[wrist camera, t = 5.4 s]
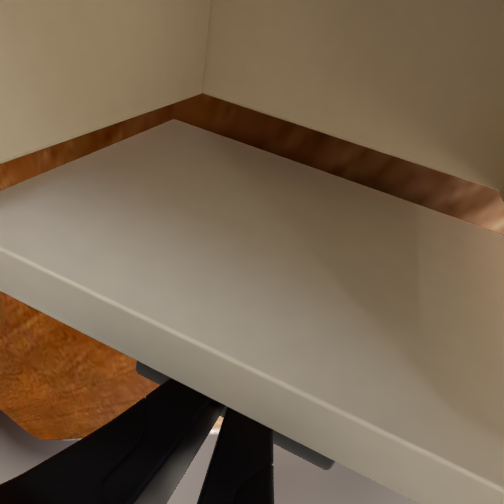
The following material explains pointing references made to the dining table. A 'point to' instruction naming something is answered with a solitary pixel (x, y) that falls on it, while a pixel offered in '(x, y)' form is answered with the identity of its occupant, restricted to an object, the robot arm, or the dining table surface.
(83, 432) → the dining table surface
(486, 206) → the dining table surface
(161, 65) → the drawer
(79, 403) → the dining table surface
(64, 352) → the dining table surface
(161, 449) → the robot arm
